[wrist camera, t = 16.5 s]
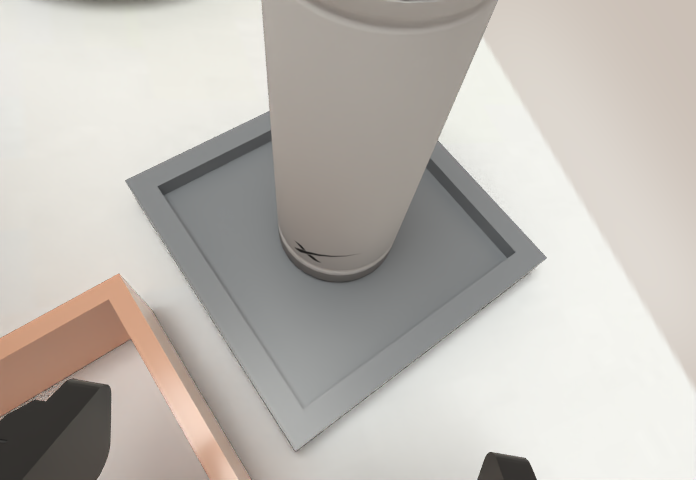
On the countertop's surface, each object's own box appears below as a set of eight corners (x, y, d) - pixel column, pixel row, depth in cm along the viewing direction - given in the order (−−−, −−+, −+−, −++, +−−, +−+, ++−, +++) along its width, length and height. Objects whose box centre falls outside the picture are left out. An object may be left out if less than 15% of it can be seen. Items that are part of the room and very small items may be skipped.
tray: (136, 199, 27) (124, 180, 25) (362, 86, 32) (366, 64, 30) (295, 452, 22) (295, 450, 20) (530, 271, 27) (546, 257, 26)
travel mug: (309, 308, 24) (348, -159, 6) (261, 202, 26) (186, -363, 8) (416, 262, 26) (693, -212, 8) (362, 167, 28) (479, -369, 10)
